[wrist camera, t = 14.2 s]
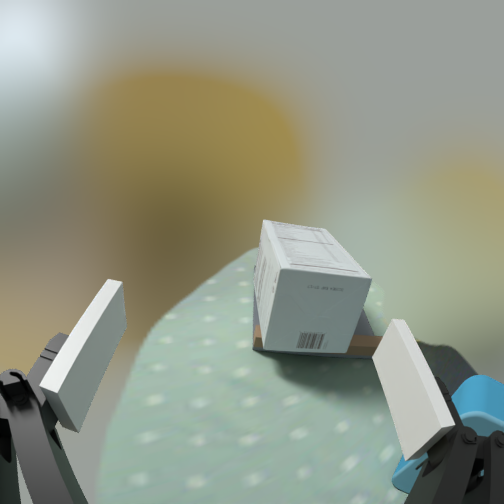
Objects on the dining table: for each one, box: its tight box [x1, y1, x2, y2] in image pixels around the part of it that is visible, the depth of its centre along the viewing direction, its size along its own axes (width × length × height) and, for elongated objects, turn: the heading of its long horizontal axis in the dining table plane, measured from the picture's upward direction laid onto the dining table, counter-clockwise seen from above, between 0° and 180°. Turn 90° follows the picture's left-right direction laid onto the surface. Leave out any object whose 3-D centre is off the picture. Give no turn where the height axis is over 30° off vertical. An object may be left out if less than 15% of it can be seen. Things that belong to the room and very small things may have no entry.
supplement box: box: [253, 220, 372, 353], centre depth 36 cm, size 10×9×17 cm
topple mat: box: [253, 266, 383, 359], centre depth 41 cm, size 18×16×2 cm
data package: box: [392, 375, 504, 493], centre depth 15 cm, size 12×4×12 cm, turn 51°
